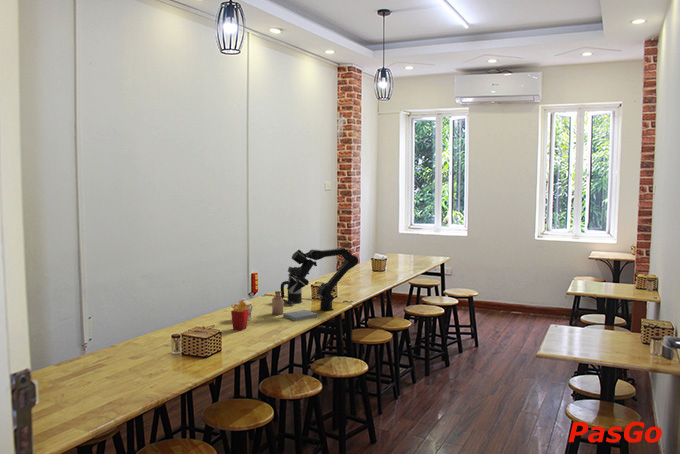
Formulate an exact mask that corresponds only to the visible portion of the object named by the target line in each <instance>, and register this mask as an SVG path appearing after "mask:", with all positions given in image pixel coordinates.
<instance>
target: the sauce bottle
mask: <svg viewBox="0 0 680 454" xmlns="http://www.w3.org/2000/svg"><path fill="white" fill-rule="evenodd" d="M274 295H275V296H273V298H271V314H272V315H273V316H283V313H284V301H283V299H284V298H282V297H281V290H277V291H274Z"/></svg>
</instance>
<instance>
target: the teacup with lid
mask: <svg viewBox="0 0 680 454" xmlns="http://www.w3.org/2000/svg"><path fill="white" fill-rule="evenodd" d="M241 301H244V303H246V304H247V305H249V304H250V306H249V307H248V308H246V310H248V318H247V322H248V321H250V320H252V311H253V305H252V302H251V301H248V300H246V298H244V297H242V298H241V300H239V301H237V302H235V305H238V306H239V303H240V302H241ZM236 308H237V309H238V307H237V306H236ZM241 309H242V307H241Z"/></svg>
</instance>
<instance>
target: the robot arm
mask: <svg viewBox="0 0 680 454" xmlns="http://www.w3.org/2000/svg"><path fill="white" fill-rule="evenodd" d="M335 256H341V257H342V258H343V259H344V260H343V262H342V265H341V266H340V267H339V268H338V269H337V271H336V272H335V273H334V274H333V276H332V277H330V279H329V280H328V281H326V283H324V282H322V283H321V284H320V286H318V287H317V288H318V289H317V290H316V291H317V295H318V296H319V298H320V302H319V303H320V306H319V307H320V308H319V310H320V311H323V312H330V311H334V310H335V309H334V308H333V301H334V298H335V297H334V296H333V295H332V293H333V290H334V288H335V286H336V285H337V284H338V283H339V282H340V281H341V279H342V278H343V277H344V276H345V275H346V274H347V273H348V272H349V270H351V269H353V268H355V267H356V266H357V264H359V258H358V257H357V256H356V255H353V254H352V253H351V252H350V251H348V250H347V249H346V248H343V247H340V248H333V249H323V250H320V249H310V250H309V251H308V252H306V253H304V252H303V251H301V249H297V251H295V252H294V253H292V256H291V260H293V261H294V262H296V263H297V264H298V265H301V266H298V267H297V266H294V267H293V266H288V269H287V272H288V274H287V276H288V279H289V280H288V281H289V284H287V288H286V290H287V291H288V290H289V289H290V288H292V287H293V286H294V285H295V284H296V283H297V284H296V286H295V288H294V290H293V293H295V292H296V291H298V290H299V289H301V288H305V287H306V286H308V285H309V282H310V281H309V279H307V278H306V277H307V276H308V275H310V271H311V270H312V267H313V266H314V267H317V266H318V264H317V261H318V260H322V259H323V258H327V257H335Z"/></svg>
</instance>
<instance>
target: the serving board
mask: <svg viewBox="0 0 680 454" xmlns="http://www.w3.org/2000/svg"><path fill="white" fill-rule="evenodd" d="M282 317H283V318H286V319H288V320H291V321H294V322H298V321H303V320H309V319H314V318H318V313H316V312H312V311H310V310H306V309H301V310H296V311H290V312H283V314H282Z"/></svg>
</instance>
